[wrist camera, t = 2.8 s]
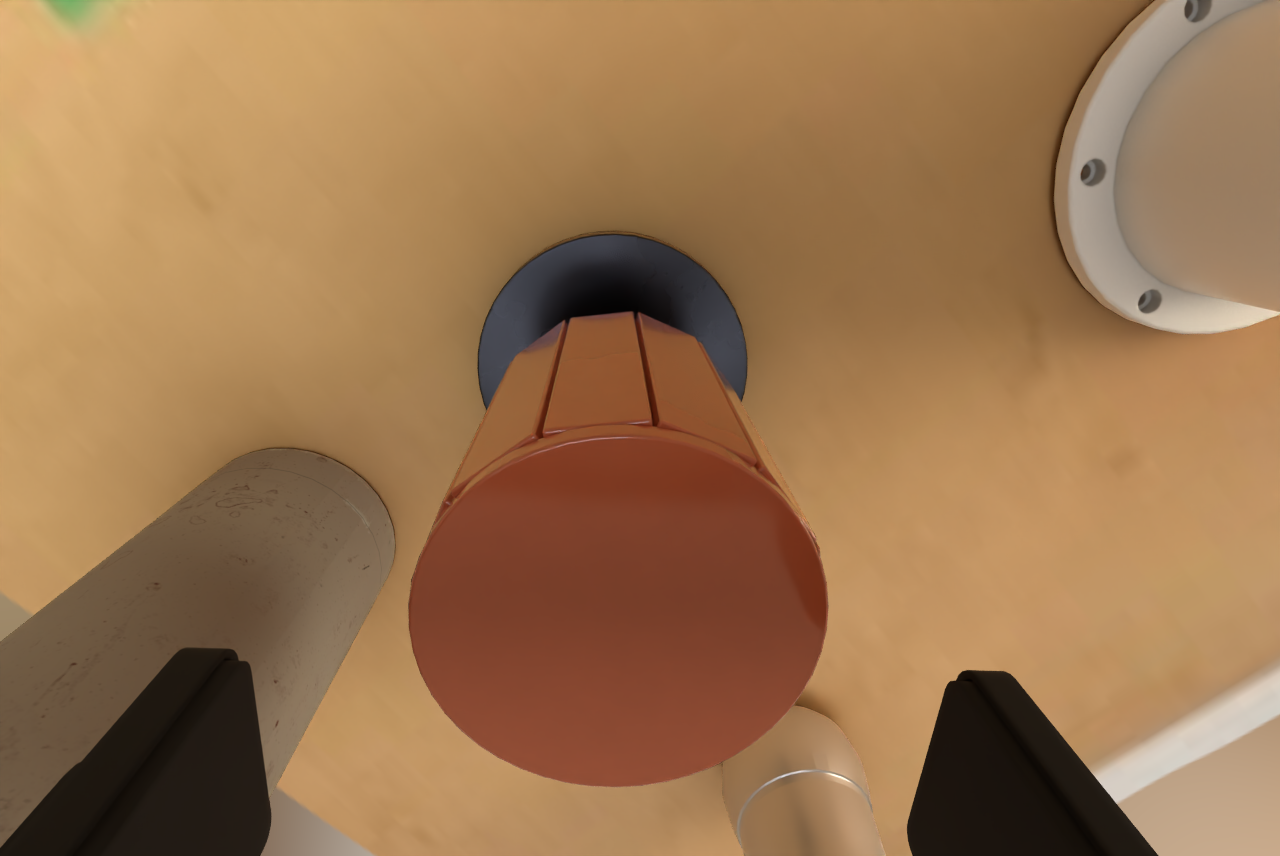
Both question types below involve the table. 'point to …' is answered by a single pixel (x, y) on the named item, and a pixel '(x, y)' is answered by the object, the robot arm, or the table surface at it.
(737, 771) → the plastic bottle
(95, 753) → the robot arm
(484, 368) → the bowl
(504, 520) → the cup
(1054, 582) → the table surface
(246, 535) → the thermos bottle
